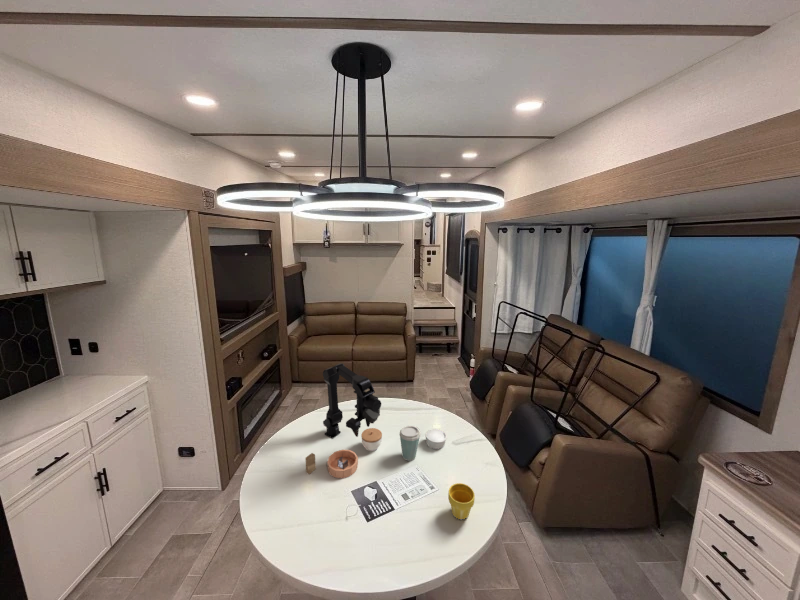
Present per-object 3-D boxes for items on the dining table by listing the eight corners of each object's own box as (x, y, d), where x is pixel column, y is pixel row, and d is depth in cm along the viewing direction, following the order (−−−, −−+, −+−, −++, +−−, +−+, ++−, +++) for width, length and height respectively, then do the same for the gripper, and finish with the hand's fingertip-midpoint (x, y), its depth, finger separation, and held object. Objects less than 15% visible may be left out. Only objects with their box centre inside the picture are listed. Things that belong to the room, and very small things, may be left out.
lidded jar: (383, 441, 171) (383, 425, 169) (380, 455, 161) (380, 438, 159) (363, 439, 172) (363, 424, 170) (359, 453, 162) (359, 437, 160)
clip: (337, 466, 152) (337, 460, 151) (341, 462, 154) (341, 456, 154) (343, 469, 150) (343, 463, 149) (348, 465, 152) (348, 460, 152)
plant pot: (446, 501, 134) (447, 482, 132) (470, 502, 134) (472, 483, 131) (448, 524, 124) (450, 503, 122) (475, 525, 123) (477, 504, 121)
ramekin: (447, 451, 164) (447, 442, 163) (425, 450, 165) (426, 441, 163) (444, 437, 175) (445, 429, 174) (424, 436, 175) (424, 428, 174)
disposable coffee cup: (395, 460, 157) (396, 433, 154) (403, 446, 167) (403, 421, 164) (416, 466, 154) (417, 439, 150) (422, 452, 163) (423, 426, 160)
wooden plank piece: (306, 472, 148) (305, 457, 147) (312, 467, 152) (311, 452, 150) (309, 474, 147) (308, 459, 146) (315, 469, 151) (314, 454, 149)
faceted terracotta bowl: (321, 470, 150) (321, 462, 149) (341, 453, 162) (341, 446, 161) (344, 482, 143) (343, 475, 142) (363, 464, 154) (363, 456, 153)
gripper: (364, 418, 142) (364, 448, 145) (386, 399, 157) (386, 427, 161) (344, 410, 147) (345, 439, 151) (368, 393, 163) (368, 419, 166)
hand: (362, 431), depth 157 cm, fingers open, 9 cm apart
